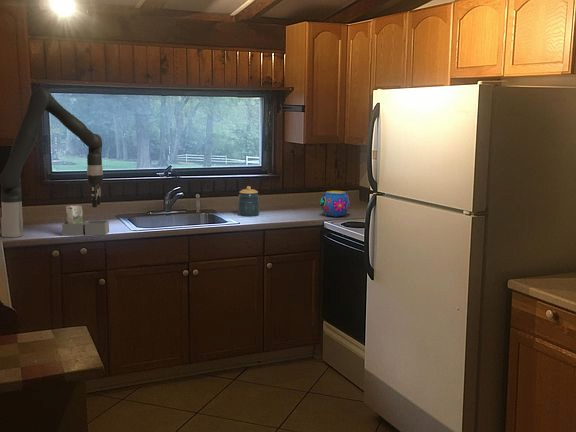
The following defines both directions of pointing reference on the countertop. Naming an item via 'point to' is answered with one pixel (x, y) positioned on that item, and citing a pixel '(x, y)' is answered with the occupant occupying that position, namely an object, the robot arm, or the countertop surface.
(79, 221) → the syrup box
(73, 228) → the bin
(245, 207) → the canister
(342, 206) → the ceramic pot
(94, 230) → the bin
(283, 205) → the countertop surface
